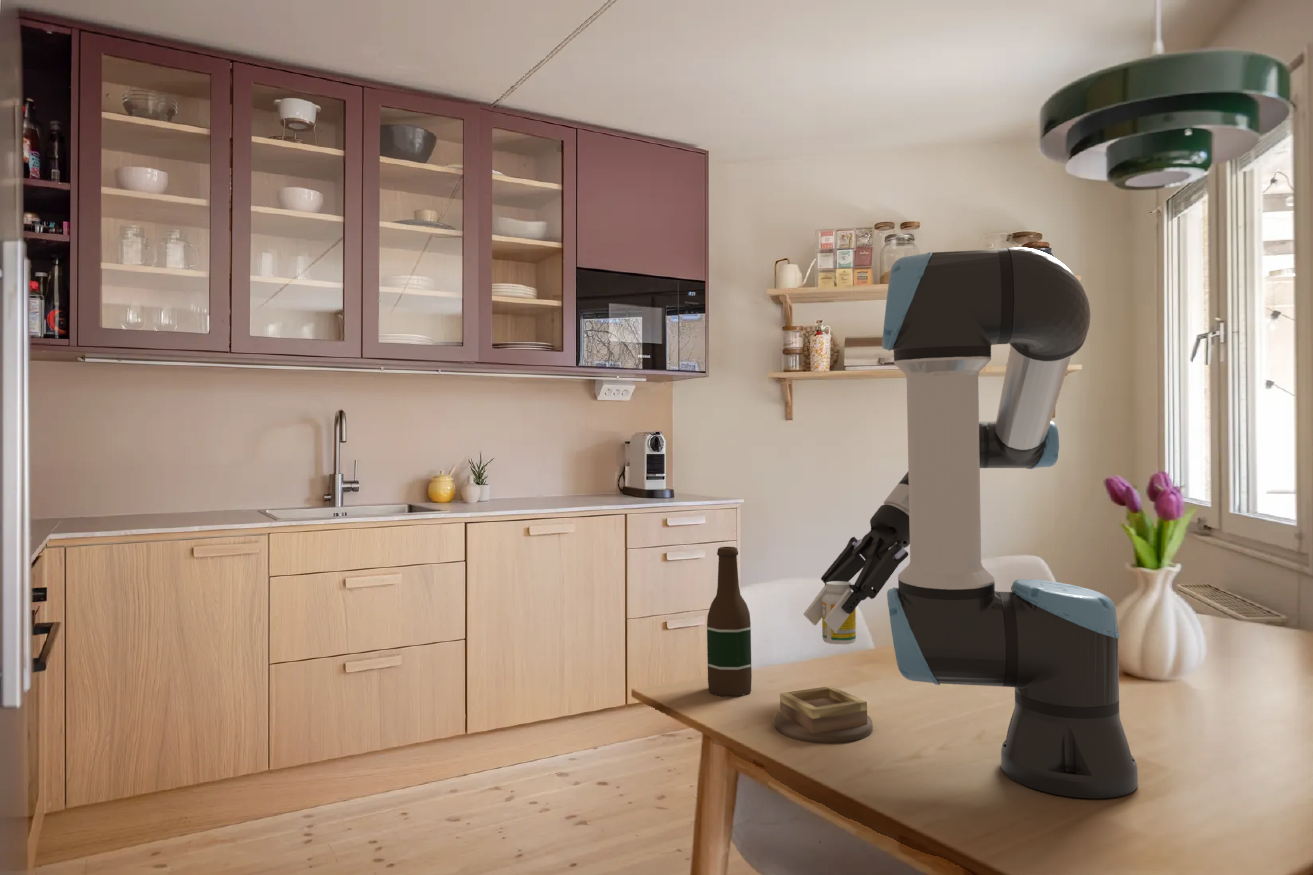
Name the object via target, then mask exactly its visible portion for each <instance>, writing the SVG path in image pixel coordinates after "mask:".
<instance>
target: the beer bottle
mask: <svg viewBox="0 0 1313 875" xmlns="http://www.w3.org/2000/svg"><path fill="white" fill-rule="evenodd" d="M738 555H739V551H738V548H737V547H735V546H720V547H718V548H717V552H716V556H718V566H717V569H718V570H717V587H716V595H715V596H714V598H713V600H712V601H711V604H710V607H709V609H708V610H709V611H708V613H707V618H706V619H707V621H706V642H707V644H706V646H707V649H706V650H707V651H706V652H707V654H706V655H707V684H708V685H707V687H708V692H709V693H710V694H712V695H715V694H717V695H716V696H718V695H720V696H719V697H722V696H739V697H741V696H740V695H743V694H746V695H749V694H748V693H750V694H751V692H752V675H753V674H752V673H753V672H752V634H751V632H752V628H751V626H752V625H751V613H750V610H749V608H748V605H747V602H746V601H745V600H744V598H743V597H742V595H741V589H740V584H739V582H740V581H739V571H738V559H737V558H738V557H737V556H738ZM743 696H744V695H743Z"/></svg>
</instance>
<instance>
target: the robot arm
mask: <svg viewBox="0 0 1313 875" xmlns="http://www.w3.org/2000/svg"><path fill="white" fill-rule="evenodd" d="M888 279H889V280H888V286H887V294H886V295H887V296H886V304H885V312H884V321H883V332H882V338H881V339H882V341H881V347H882V348H883V349H884V350H887V351H888V352H890V351H893V364H894V365H895V366H896V367H897V369H899V370H900V371H901V372H902V373H903V375H905V377H906V378H905V379H906V407H907V408H906V409H907V410H906V414H907V416H906V417H907V418H906V419H907V423H906V424H907V464H908V465H907V468H908V471H907V472H906V473H905V475H904V476H903V477H902V478H901V480H900V481H899V482H898V483H897V485H895V487H894V488H893V490H892V491H891V492H890V493H889V495H888V496H887V497H886V498H885V500H884V501H883V504H882V505H880V506H879V507H878V508H877V510H876V511H875V513H874V514H873V516H871V518H870V519H869V524H870V530H869V531H868V532H867V533H866V534H864V536H863V537H862V539H857V538H856V536H853V537H850V538H849V540H848V542H847V545H846V547H845V548H844V549H843V550H842V551H841V552H840V554H839V555H838V556H837V557H836V559H835V560H834V561H833V562H832V564H831V565H829V567H828V568H827V570H826V571H825V572H824V574H822V576H821V577H820V580H821V581H822V582H823V583H824V587H823V588H822V589H821V591H819V593H817V595H816V597H815V598H814V599H813V601H812V602H811V603H810V605H809V606H808V607H807V608H806V609H805V610H804V612H803V616H805V618H806V619H807V620H808V621H809V622H810V623H811V624H812V626H817V624H818V623H819V622H820V621H821V620H822V598H823V597H824V596H825V595H826V594H828V592H827V591H826V583H827V582H831V581H845V582H850V581H851V580H852V579H853V578H854V577H855V576H856V575H857V574H858V573H859V572H860V573H859V575H858V577H857V578H856V581H855V582H854V584H851V585H849V587H850V588H851V590H849V589H847V590H846V591H845V593H844V594H843V595H842V597H841V598H840V599H839V601H838V602H837V603H836V604H835V606H834V607H833V608H832V610H831V611H830V612H829V614H828V615H827V616H826V617H825V619H824V621H825V622H826V623H827V624H828V626H829V627H830V628H831V629H832V630H833V631H835V632H837V631H838V630H839V628H840V627H841V626H842V624H843V623H844V622H845V620H846V619H847V618H848V616H849V615H850V614H851V613H852V612H853V611H854V609H855V608H856V609H857V606H858V605H859V604H860V603H861V602H862V601H865V600H866V599H867V598H869V599H870V600H873V599H875V598H876V597H877V595H878V594H879V592H881V590H882V589H883V587H884V586H885V584H886V583H887V582H888V581H889V579H890V578H891V576H892V575H893V574H894V573H895V570H896V569H897V568H898V567H899V565H900V564H901V563H902V562H904V561H905V559H907V557H908V556H909V563H908V565H907V566H906V567H904V568H903V569H902V570H901V572H899V573H898V575H897V578H898V579H897V580H898V584H897V586H898V587H894V586H893V587H892V588H890V589H888V590H887V592H886V597H887V598H886V599H887V606H888V613H889V614H888V615H889V620H890V621H889V622H890V629H891V636H892V642H893V643H892V644H893V648H894V649H893V650H894V653H895V659H896V660H895V661H896V664H897V669H898V671H899V673H900V674H901V676H902V677H903V678H905V679H906V680H908V681H913V682H918V683H920V682H921V683H929V684H934V685H936V686H940V685H941V684H943V685H959V686H964V685H965V686H982V687H983V686H984V687H1005V688H1014V709H1013V712H1012V715H1011V718H1010V721H1009V724H1008V727H1007V732H1006V737H1005V740H1004V741H1003V742H1002V745H1001V749H1000V761H1001V762H1000V767H1001V770H1002V771H1003V773H1004V774H1005V775H1006V776H1007V777H1009V778H1010V779H1012V780H1013V781H1015V782H1017V783H1019V784H1021V785H1023V786H1025V787H1028V788H1030V789H1031V788H1032V789H1034V790H1037V791H1041V792H1044V793H1048V794H1052V795H1057V796H1064V797H1070V798H1080V799H1081V798H1082V799H1110V798H1111V799H1112V798H1118V797H1124V796H1126V795H1130V794H1131V793H1132V792H1135V790H1136V789H1137V788H1138V786H1139V783H1138V781H1139V780H1138V779H1139V778H1138V763H1137V762H1136V759H1135V757H1134V756H1133V755H1132V753H1131V749H1130V746H1129V742H1128V739H1127V736H1126V733H1125V730H1124V726H1123V723H1122V721H1121V715H1120V683H1119V682H1120V677H1119V676H1120V675H1119V674H1120V670H1119V668H1120V667H1119V639H1120V638H1121V635H1120V632H1119V626H1118V615H1117V608H1116V606H1115V603H1114V602H1113V600H1112V599H1111V598H1110V597H1109V596H1107V595H1106V594H1103V593H1102V592H1099V591H1096V590H1093V589H1091V588H1085V587H1082V586H1078V585H1074V584H1068V583H1064V582H1057V581H1049V580H1042V579H1033V578H1031V579H1027V578H1026V579H1025V578H1020V579H1015V580H1014V581H1013V582H1012V585H1011V586H1010V590H1011V591H997V590H996V588H995V586H996V584H995V581H996V580H995V577H994V576H993V575H992V574H991V573H990V572H989V571H988V570H987V569H986V568H985V567H984V566H983V563H982V535H981V532H982V529H981V527H982V526H981V524H982V522H981V479H980V478H981V475H980V474H981V470H980V469H1027V470H1028V469H1029V470H1032V469H1036V468H1050V467H1053V466H1055V465H1056V463H1057V461H1058V459H1059V452H1060V435H1059V429H1058V426H1057V424H1056V423H1055V422H1054V421H1052V419H1053V416H1054V412H1055V410H1056V407H1057V403H1058V400H1059V396H1060V394H1061V390H1062V387H1063V384H1064V380H1065V378H1066V374H1067V371H1068V367H1069V364H1070V362H1071V358H1072V356H1074V355H1076V354H1077V352H1078V351H1080V350H1081V348H1082V347H1083V345H1084V343H1085V341H1086V339H1087V335H1088V333H1089V328H1090V324H1091V308H1090V307H1091V306H1090V302H1089V298H1088V297H1087V294H1086V291H1085V289H1084V286H1083V284H1081V281H1079V279H1078V277H1077V276H1076V275H1075V274H1074V273H1073V271H1071V270H1070V268H1069V267H1068V266H1066V265H1065V264H1064V263H1063V262H1061V261H1060V260H1059V259H1057V258H1056V257H1054V256H1052V255H1051V254H1048V253H1047V252H1043V251H1041V250H1038V249H1035V248H1029V247H1018V246H1015V247H1006V248H997V249H994V248H993V249H991V248H990V249H976V250H975V249H974V250H954V251H935V252H933V251H932V252H927V253H922V254H921V253H920V254H916V255H914V254H913V255H909V256H903V257H900V258H898V259H897V260H896V261H895V262H893V264H892V265H891V268H890V272H889V278H888ZM1008 344H1009V346H1010V347H1009V351H1008V352H1009V353H1008V357H1007V363H1006V367H1005V368H1006V369H1005V374H1004V378H1003V379H1004V380H1003V383H1002V388H1001V395H1000V400H999V405H998V411H997V415H996V421H980V408H979V406H980V405H979V404H980V402H979V401H980V400H979V399H980V398H979V397H980V396H979V395H980V394H979V375H980V372H981V371H982V370H983V369H984V368H985V367H986V366H987V365H988V364H989V363H990V362H991V361H992V346H994V345H995V346H996V345H1008ZM908 546H909V552H908V551H907V550H906V548H907V547H908Z"/></svg>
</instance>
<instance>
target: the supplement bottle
mask: <svg viewBox="0 0 1313 875" xmlns="http://www.w3.org/2000/svg"><path fill="white" fill-rule="evenodd" d="M849 585H852V583H851V582H850V581H849V582H845V581H831V582H827V583H826V591H827V592H828V594H826V595H825V596H824V597H823V598H822V618H821V621H822V624H821V625H822V626H821V627H822V629H821V632H822V641H823V642H824V643H826V644H829V645H830V644H831V645H842V646H843V645H851V644H854V643H855V642H856V640H857V632H856V630H857V628H856V626H857V622H856V621H857V618H856V617H857V616H856V614H857V613H856V612H857V610H856V609H857V607H856V608H855V609H854V611H853V612H852V613H851V614H850V615H849V616H848V618H847V619H846V620H845V622H844V623H843V624H842V626H841V627H840V628H839V630H838V631H837V632H835V631H833V630H832V629H831V628H830V627H829V626H828V624H827V623H826V622H825V621H824V619H825V617H826V616H827V615H828V614H829V612H830V611H831V610H832V608H833V607H834V606H835V604H836V603H837V602H838V601H839V599H840V598H841V597H842V595H843V594H844V593H845V591H846V590H847V589H849V590H851V591H852V589H851V588H850V587H849Z"/></svg>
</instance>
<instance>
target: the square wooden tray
mask: <svg viewBox="0 0 1313 875" xmlns="http://www.w3.org/2000/svg"><path fill="white" fill-rule="evenodd" d="M779 706H780V707H779V712H777V713H775V715H774V728H775V729H776V731H777V732H779V733H780V734H782V735H783V736H786V737H788V738H792V739H795V740H799V741H804V742H809V743H817V744H819V743H820V744H840V743H841V744H843V743H849V742H857V741H858V740H861V739H864V738H865V739H866V738H867V737H869V736H870V735H871V734H872V733H873V728H874V726H873V719H872V718H871V717H870V716H869V715H868V701H866V700H864V699H861V698H859V697H858V696H857V697H856V695H853V694H850V693H848V692H846V691H843V690H842V689H839V688H838V687H835V686H833V685H829V686H822V687H815V688H814V687H813V688H809V689H808V688H807V689H802V690H794V691H793V690H792V691H787V692H780V693H779Z"/></svg>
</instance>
